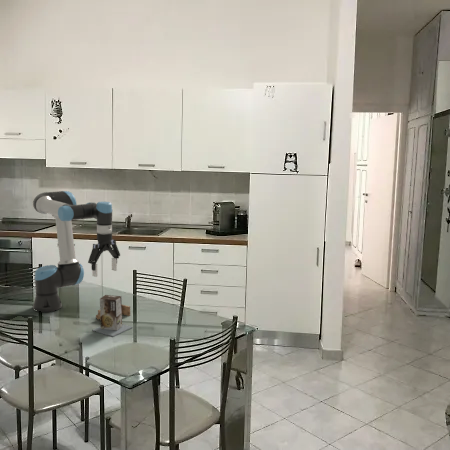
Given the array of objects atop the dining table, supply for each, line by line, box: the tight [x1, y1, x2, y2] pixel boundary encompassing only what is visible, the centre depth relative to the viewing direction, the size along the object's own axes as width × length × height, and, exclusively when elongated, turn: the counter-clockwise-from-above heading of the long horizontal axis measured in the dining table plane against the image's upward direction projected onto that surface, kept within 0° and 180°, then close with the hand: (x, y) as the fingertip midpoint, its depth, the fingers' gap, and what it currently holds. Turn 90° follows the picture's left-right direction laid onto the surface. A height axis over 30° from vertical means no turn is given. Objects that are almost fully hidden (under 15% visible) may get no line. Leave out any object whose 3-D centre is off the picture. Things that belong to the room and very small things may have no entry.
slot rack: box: [95, 304, 131, 321], centre depth 272 cm, size 12×14×5 cm
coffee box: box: [99, 294, 123, 331], centre depth 255 cm, size 9×6×16 cm
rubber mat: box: [92, 323, 134, 338], centre depth 256 cm, size 14×14×1 cm
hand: (104, 273), depth 260 cm, fingers open, 13 cm apart
